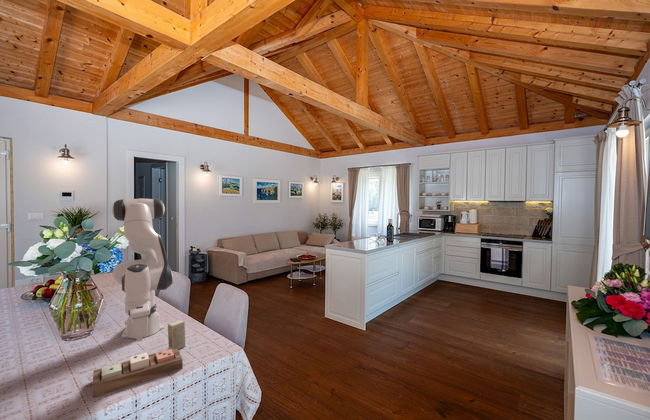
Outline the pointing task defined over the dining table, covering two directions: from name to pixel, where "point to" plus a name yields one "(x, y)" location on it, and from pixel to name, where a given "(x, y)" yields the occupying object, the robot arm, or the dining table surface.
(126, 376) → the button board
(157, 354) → the three-pip tile
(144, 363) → the tile
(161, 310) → the dining table surface
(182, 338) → the skincare box
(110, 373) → the tile
